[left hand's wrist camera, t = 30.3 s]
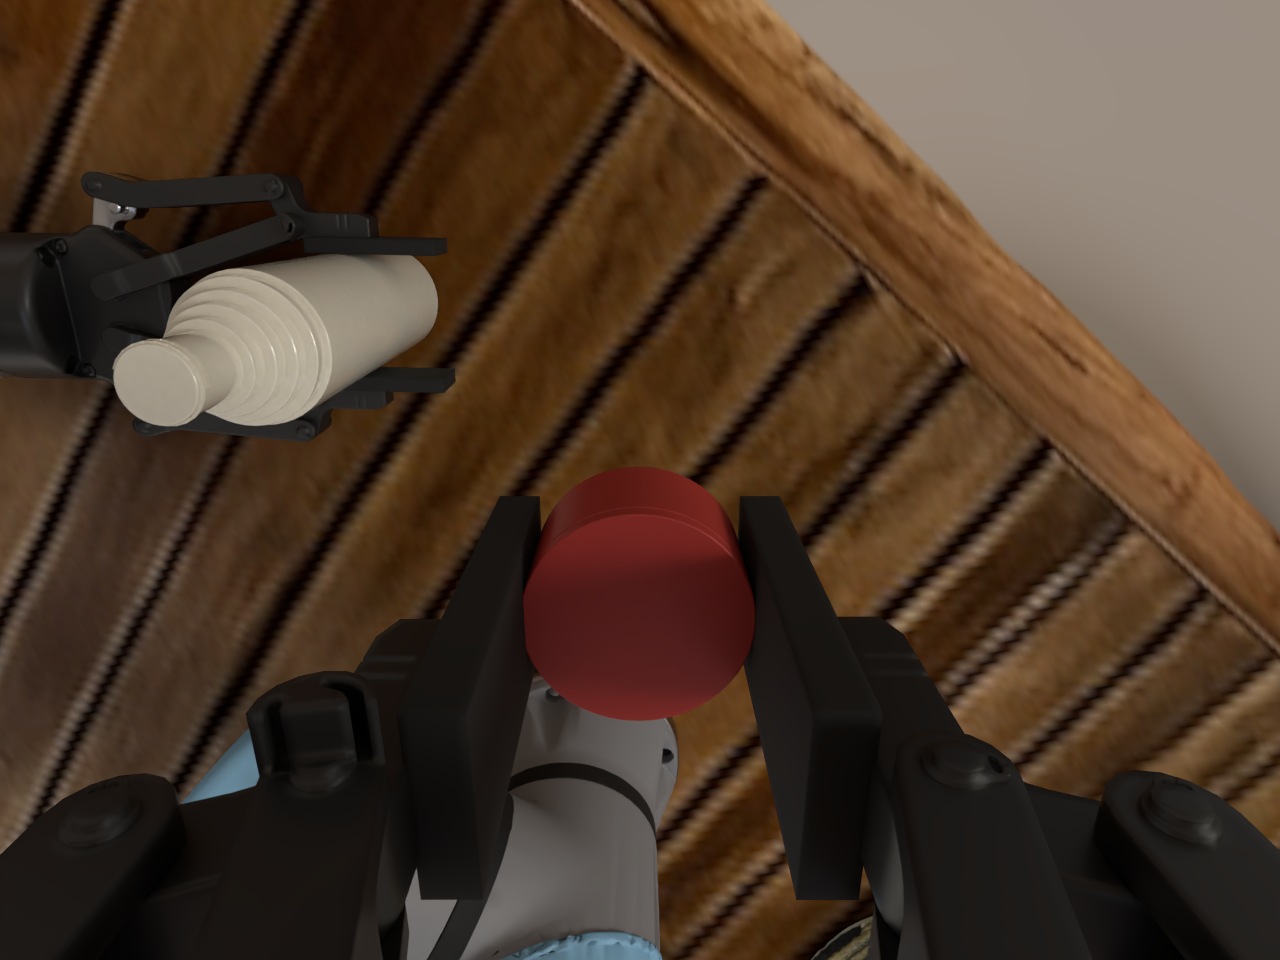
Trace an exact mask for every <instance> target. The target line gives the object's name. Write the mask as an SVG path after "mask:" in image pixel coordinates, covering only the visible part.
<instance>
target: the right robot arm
mask: <svg viewBox="0 0 1280 960" xmlns="http://www.w3.org/2000/svg"><path fill="white" fill-rule="evenodd" d="M81 184H82V188H83V189H84V191H85V192H86V193H87V194H88V195H89V196H91V197H93V198H94V206H93V225H88V226H86V227H83V228H82V229H81V230H79V231H77V232H75V233H73V234H61V233H12V232H0V378H5V377H12V376H17V377H23V378H63V379H99V380H104V381H107V382H109V383H111V384H113V385H114V379H113V374H114V369H112V368H113V365H114V362H115V359H116V358H117V356H118V355H119V354H120V352H121V351H122V350H123V349H125V348H126V347H128V346H129V345H131V344H133V343H137V342H140V341H144V340H147V339H161V338H163V337H164V333H165V331H166V327H167V323H168V319H169V315H170V313H171V311H172V309H173V307H174V305H175V304H176V302H177V301H178V299H179V298H180V297H181V296H182V295H183V294H184V292H186V291H187V290H188V289H189V288H191V287H192V284H191V278H194V277H197V276H200V275H203V274H206V273H208V272H210V271H212V270H215V269H218V268H221V267H223V266H226V265H229V264H232V263H235V262H238V261H241V260H244V259H247V258H250V257H253V256H256V255H259V254H261V253H264V252H267V251H270V250H273V249H276V248H279V247H282V246H285V245H288V244H291V243H294V242H297V241H300V240H302V239H303V244H304V252H305V253H317V254H363V255H409V256H437V255H441V254H445V253H447V240H446V238H417V237H379V232H378V221H377V218H376V217H374V216H372V215H369V214H360V213H321V212H317V211H315V210H313V209H312V208H311V207H310V206H309V205H308V203H307V201H306V199H305V197H304V195H303V185H302V182H301V181H300V180H299V179H298V178H297V177H295V176H292V175H283V174H269V173H266V174H251V175H236V176H221V177H206V178H191V179H176V180H161V181H147V180H144V179H141V178H137V177H134V176H131V175H127V174H120V173H105V172H87V173H85V174H84V175H83V176H82V179H81ZM255 202H270V203H271V206H272V208H273V210H274V212H275V214H276V216H274V217H271V218H268V219H265V220H262V221H260V222H257V223H254V224H251V225H248V226H245V227H242V228H239V229H236V230H234V231H231V232H228V233H225V234H222V235H219V236H216V237H213V238H211V239H208V240H205V241H202V242H199V243H196V244H193V245H190V246H187V247H185V248H182V249H179V250H176V251H173V252H169V253H164V254H160V253H158V252H157V251H155V250H154V249H152V248H151V247H149V246H148V245H147V244H145V243H144V242H142V241H141V240H139V239H138V238H136V237H135V236H133V235H132V234H130V233H129V232H127V231H126V230H124V226H125V224H126V222H128V221H129V220H140V219H142V218H144V217H145V215H146V213H147V212H148V211H149V208H179V207H194V206H209V205H224V204H240V203H255ZM454 383H455V369H450V368H403V367H379V368H377V369H376V370H374V371H373V372H371V373H369V374H368V375H366V376H365V377H363V378H361V379H360V380H358V381H357V382H355V383H353V384H352V385H350V386H349V387H347V388H345V389H344V390H342V391H341V392H339V393H337V394H336V395H334V396H333V397H331V398H329V399H328V400H326V401H325V402H323V403H321V404H320V405H318V406H317V407H315V408H313V409H312V410H310V411H309V412H307V413H305V414H304V415H302V416H300V417H298V418H296V419H294V420H291V421H289V422H286V423H281V424H275V425H262V426H250V425H242V424H237V423H233V422H230V421H227V420H224V419H222V418H220V417H217V416H215V415H213V414H210V413H207V412H203V413H201V414H199V415H198V416H197V417H196V418H195V419H193V420H191V421H190V422H188V423H186V424H183V425H179V426H160V425H154V424H151V423H148V422H145V421H143V420H141V419H140V418H138V417H136V418H135V419H134V420H133V427H134V430H135V431H136V432H137V433H138V434H139V435H141V436H144V437H149V436H153V435H157V434H161V433H165V432H169V431H173V430H177V429H179V430H189V431H199V432H209V433H219V434H230V435H240V436H250V437H260V438H271V439H281V440H291V441H301V442H307V441H310V440H312V439H313V438H315V437H316V436H318V435H319V434H320V433H322V432H323V431H324V430H326V429H327V428H329V426H330V425H331V421H332V420H331V412H332V409H334V408H338V409H379V408H382V407H385V406H387V405H388V404H389V403H390V402H392V401H393V400H394V396H393V392H430V393H444V392H445V391H446V390H447V389H448V388H449V387H450V386H451V385H453V384H454Z"/></svg>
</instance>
